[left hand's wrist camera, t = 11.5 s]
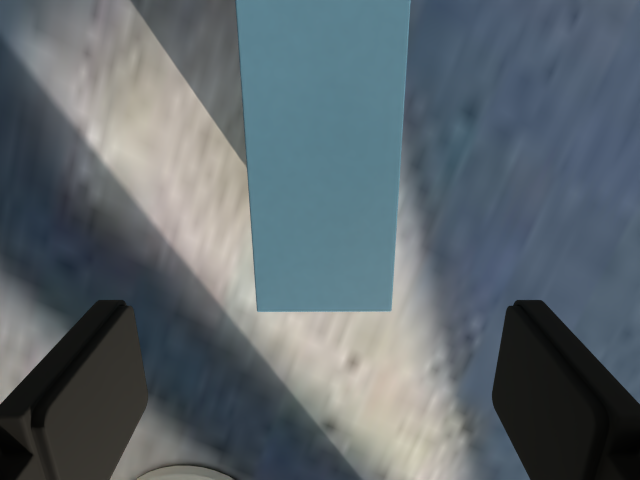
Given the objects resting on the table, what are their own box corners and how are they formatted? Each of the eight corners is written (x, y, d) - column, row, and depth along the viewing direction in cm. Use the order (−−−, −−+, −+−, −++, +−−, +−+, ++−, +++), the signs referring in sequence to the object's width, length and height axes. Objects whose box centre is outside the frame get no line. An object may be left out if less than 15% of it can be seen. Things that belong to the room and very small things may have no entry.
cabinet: (265, -153, 22) (210, -345, 12) (379, -155, 22) (432, -349, 12) (280, 219, 30) (256, 312, 19) (367, 218, 30) (391, 312, 19)
